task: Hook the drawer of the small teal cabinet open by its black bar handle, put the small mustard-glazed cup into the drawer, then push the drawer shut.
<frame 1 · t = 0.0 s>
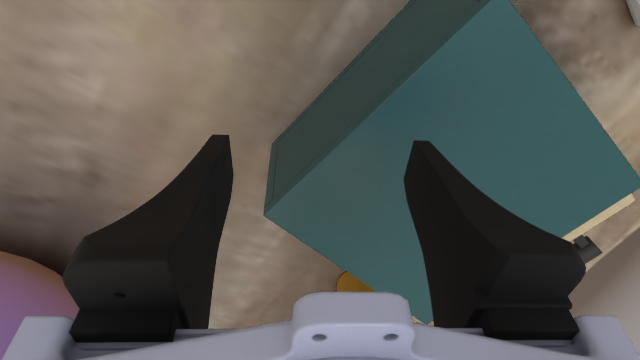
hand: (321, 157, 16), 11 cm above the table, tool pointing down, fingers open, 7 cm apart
cabinet: (416, 132, 27), on the table
cup: (363, 285, 35), on the table
ball: (24, 285, 33), on the table
drawer: (478, 204, 26), point 4 cm above the table, slide at 0.5 cm
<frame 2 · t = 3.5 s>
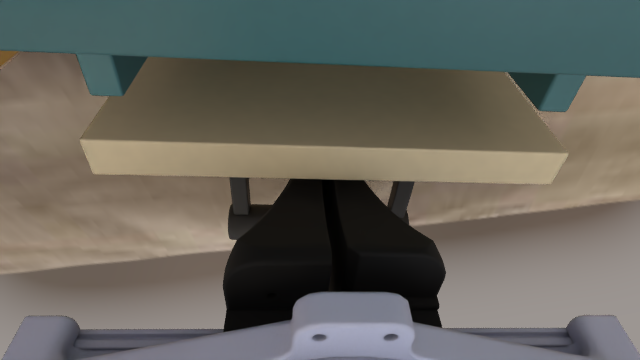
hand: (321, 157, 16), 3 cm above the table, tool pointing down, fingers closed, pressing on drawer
drawer: (335, 11, 11), point 4 cm above the table, slide at 2.7 cm, touching gripper
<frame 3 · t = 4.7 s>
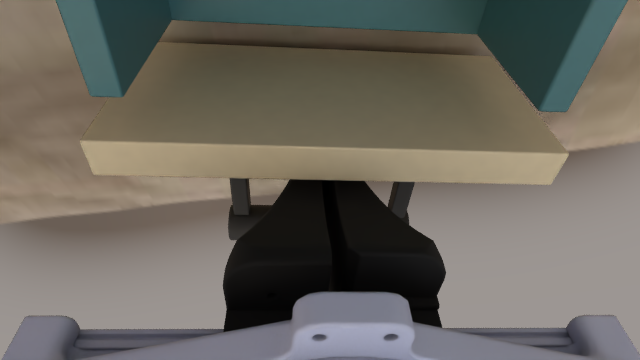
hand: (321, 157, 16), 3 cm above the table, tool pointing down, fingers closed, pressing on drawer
drawer: (334, 12, 11), point 4 cm above the table, slide at 7.2 cm, touching gripper
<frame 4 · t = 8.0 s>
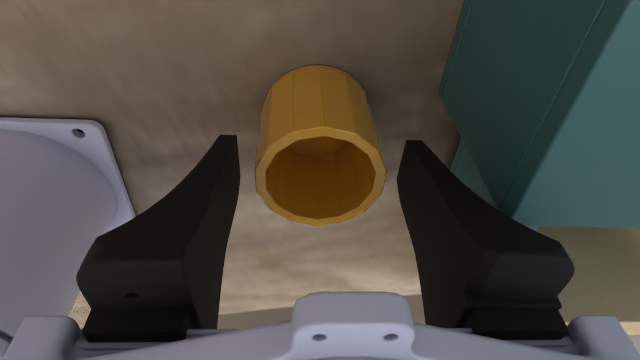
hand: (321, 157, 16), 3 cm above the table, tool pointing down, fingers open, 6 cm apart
cup: (316, 113, 18), on the table
drawer: (585, 233, 19), point 4 cm above the table, slide at 7.2 cm
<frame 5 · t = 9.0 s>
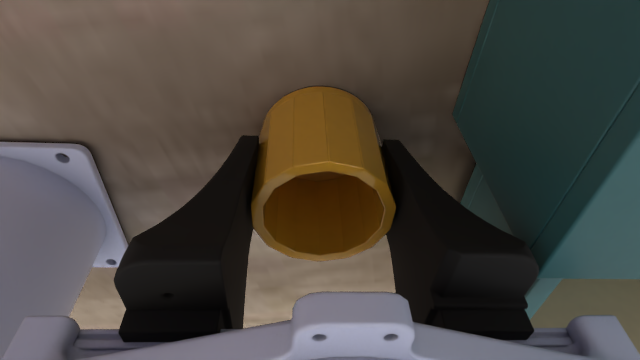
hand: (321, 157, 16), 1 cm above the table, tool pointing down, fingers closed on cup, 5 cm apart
cup: (318, 136, 17), on the table, touching gripper
drawer: (610, 266, 17), point 4 cm above the table, slide at 7.2 cm
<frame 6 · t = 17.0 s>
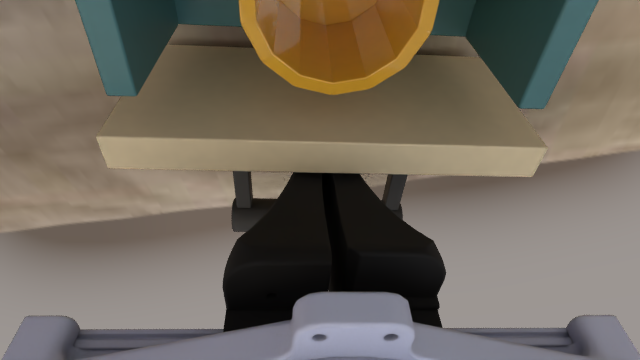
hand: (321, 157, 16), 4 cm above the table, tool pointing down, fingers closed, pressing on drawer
drawer: (330, 17, 12), point 4 cm above the table, slide at 6.2 cm, touching cup, gripper
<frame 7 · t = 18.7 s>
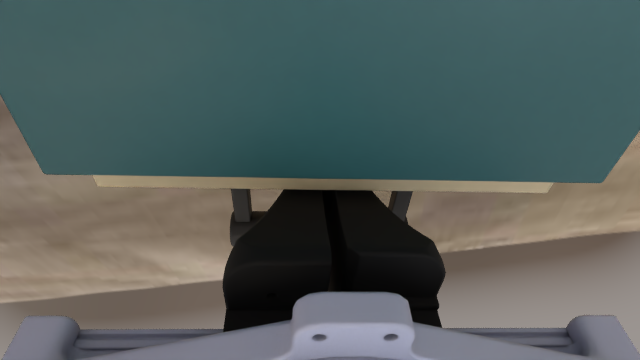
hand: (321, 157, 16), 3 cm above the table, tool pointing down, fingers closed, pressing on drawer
drawer: (332, 24, 12), point 4 cm above the table, slide at 0.0 cm, touching cabinet, cup, gripper
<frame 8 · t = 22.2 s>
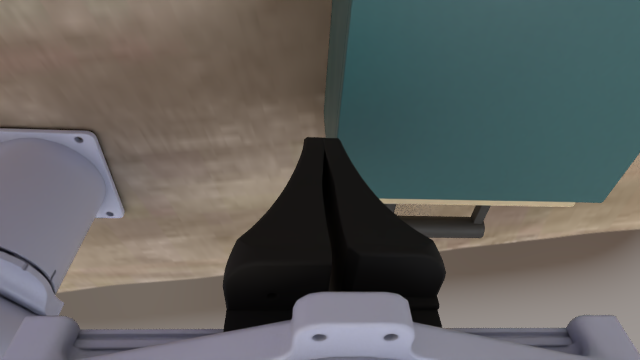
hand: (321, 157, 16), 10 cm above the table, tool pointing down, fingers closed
cabinet: (462, 12, 22), on the table
drawer: (461, 118, 22), point 4 cm above the table, slide at 0.0 cm, touching cup
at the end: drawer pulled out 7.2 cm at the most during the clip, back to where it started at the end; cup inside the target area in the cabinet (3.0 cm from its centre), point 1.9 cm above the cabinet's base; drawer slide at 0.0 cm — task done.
